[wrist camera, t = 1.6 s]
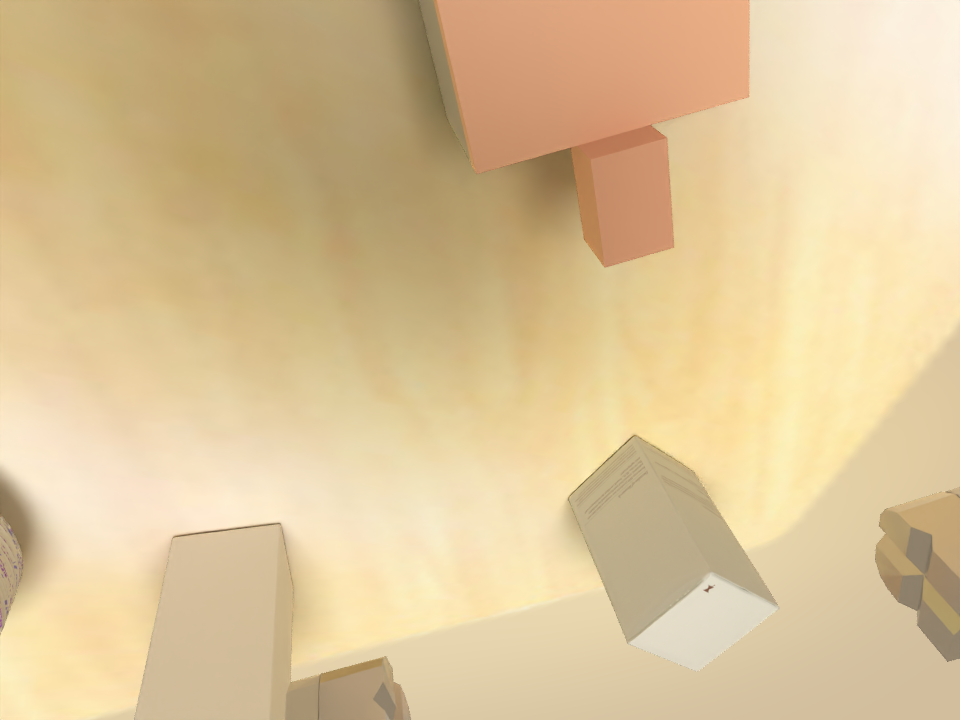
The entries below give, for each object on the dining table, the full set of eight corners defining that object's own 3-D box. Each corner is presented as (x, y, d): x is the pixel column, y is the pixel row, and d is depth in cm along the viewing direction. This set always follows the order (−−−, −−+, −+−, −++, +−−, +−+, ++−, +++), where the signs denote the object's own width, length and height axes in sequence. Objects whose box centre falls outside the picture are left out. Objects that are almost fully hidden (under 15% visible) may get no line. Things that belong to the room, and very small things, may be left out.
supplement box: (564, 497, 54) (623, 645, 44) (635, 431, 52) (715, 571, 41) (628, 532, 58) (696, 676, 47) (697, 472, 55) (785, 609, 45)
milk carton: (193, 602, 53) (144, 906, 37) (172, 534, 49) (106, 842, 33) (294, 588, 54) (285, 877, 38) (280, 521, 50) (265, 812, 34)
